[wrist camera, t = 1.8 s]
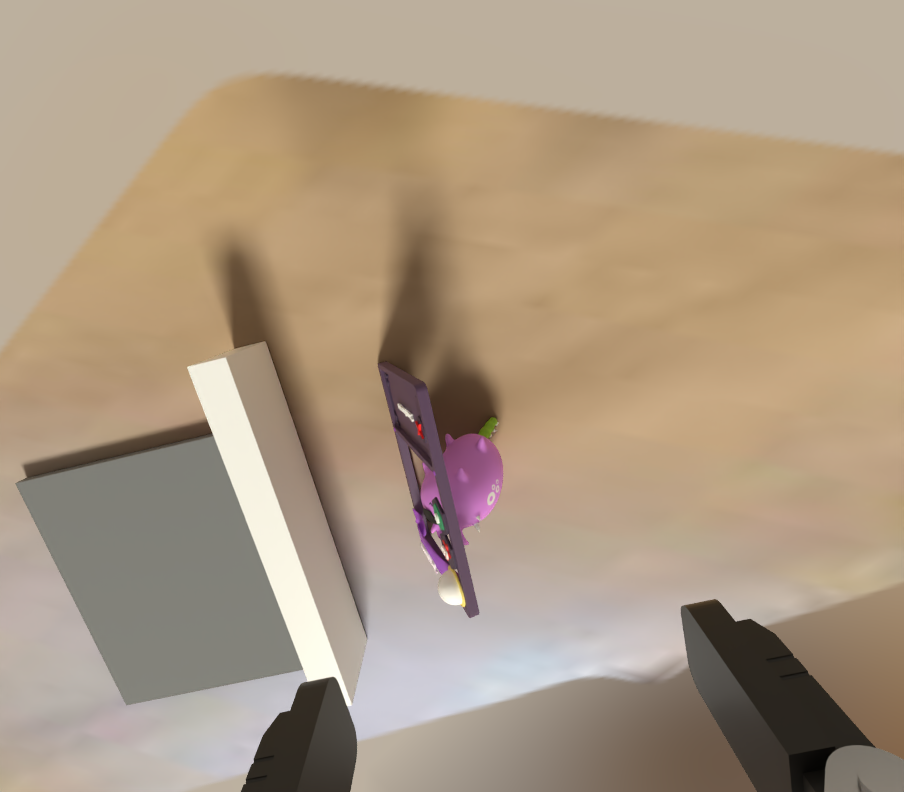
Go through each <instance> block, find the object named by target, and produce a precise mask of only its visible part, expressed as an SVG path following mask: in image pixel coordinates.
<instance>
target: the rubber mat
mask: <svg viewBox="0 0 904 792" xmlns="http://www.w3.org/2000/svg"><path fill="white" fill-rule="evenodd" d="M15 484H16V486H17V488H18V490H19V492H20V494H21V496H22V498H23V500H24V502H25V504H26V506H27V508H28V510H29V512H30V514H31V516H32V518H33V520H34V522H35V524H36V526H37V528H38V530H39V532H40V534H41V536H42V538H43V540H44V542H45V544H46V546H47V548H48V550H49V552H50V554H51V556H52V558H53V560H54V562H55V564H56V566H57V568H58V570H59V572H60V574H61V576H62V578H63V579H64V581H65V583H66V585H67V587H68V589H69V591H70V593H71V595H72V597H73V599H74V601H75V603H76V605H77V607H78V609H79V611H80V613H81V615H82V617H83V619H84V621H85V623H86V625H87V627H88V629H89V631H90V633H91V635H92V637H93V639H94V641H95V643H96V645H97V647H98V649H99V651H100V653H101V655H102V657H103V659H104V661H105V663H106V665H107V667H108V669H109V671H110V673H111V675H112V677H113V679H114V681H115V683H116V685H117V687H118V689H119V691H120V693H121V695H122V697H123V699H124V701H125V703H126V705H130V704H135V703H140V702H145V701H150V700H155V699H160V698H165V697H170V696H175V695H180V694H185V693H190V692H195V691H199V690H204V689H209V688H214V687H219V686H224V685H229V684H234V683H239V682H244V681H249V680H254V679H259V678H264V677H269V676H274V675H279V674H284V673H289V672H294V671H299V670H303V667H302V665H301V662H300V659H299V657H298V654H297V652H296V649H295V646H294V644H293V641H292V639H291V636H290V633H289V631H288V628H287V626H286V623H285V620H284V618H283V615H282V613H281V610H280V607H279V605H278V602H277V600H276V597H275V594H274V592H273V589H272V587H271V584H270V581H269V579H268V576H267V574H266V571H265V568H264V566H263V563H262V561H261V558H260V555H259V553H258V550H257V548H256V545H255V542H254V540H253V537H252V535H251V532H250V529H249V527H248V524H247V522H246V519H245V516H244V514H243V511H242V509H241V506H240V503H239V501H238V498H237V496H236V493H235V490H234V488H233V485H232V483H231V480H230V477H229V475H228V472H227V470H226V467H225V464H224V462H223V459H222V457H221V454H220V451H219V449H218V446H217V444H216V441H215V438H214V436H213V434H209V435H205V436H201V437H196V438H192V439H188V440H184V441H180V442H175V443H171V444H167V445H163V446H159V447H154V448H150V449H146V450H142V451H138V452H133V453H129V454H125V455H121V456H117V457H112V458H108V459H104V460H100V461H96V462H92V463H87V464H83V465H79V466H75V467H71V468H66V469H62V470H58V471H54V472H50V473H45V474H41V475H37V476H33V477H29V478H25V479H23V480H21V481H19V482H17V483H15Z"/></svg>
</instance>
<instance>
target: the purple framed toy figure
mask: <svg viewBox="0 0 904 792" xmlns="http://www.w3.org/2000/svg"><path fill="white" fill-rule="evenodd" d="M378 368H379V372H380V376H381V380H382V384H383V388H384V392H385V396H386V400H387V404H388V408H389V411H390V415H391V419H392V423H393V427H394V431H395V435H396V439H397V443H398V447H399V451H400V455H401V459H402V462H403V466H404V470H405V474H406V478H407V482H408V486H409V490H410V494H411V498H412V502H413V506H414V509H413V508H412V509H413V511H414V514H415V517H416V523H418V524H417V526H418V530H419V534H420V538H421V542H422V543H421V547H422V549H423V550H424V553H425V554H426V556H427V558H428V560H429V561H430V562H431V564H432V566H433V567H434V571H435V572H436V573H438V571H437V569H438V570H439V572H440V573H441V574H442V575H441V577H440V579H439V582H438V592H439V595H440V596H441V598H442V599H443V600H444V601H445V602H446V603H448V604H451V605H459V604H460V605H461V606H462V607H463V608H464V610H465V612H466V613H467V615H468V617H469V618H471V617H474V616H476V615H478V614H479V609H478V605H477V600H476V596H475V592H474V587H473V583H472V579H471V574H470V570H469V566H468V562H467V557H466V553H465V549H464V545H468V544H469V543H468V541H467V540H466V539H465V537H464V535H463V533H462V530H463V528H466V527H469V526H472V525H474V526H475V527H476V529H477V530H478V532H480V527H479V522H480V521H481V520H482V519H484V518H485V517H486V516H487V515H488V514H489V513H490V512H491V511H492V509H493V508H494V506H495V504H496V502H497V500H498V498H499V495H500V492H501V488H502V482H503V464H502V460H501V456H500V454H499V452H498V450H497V448H496V447H495V445H494V444H493V443H492V442H491V441H490V440H489V438H491V436H493V435H491V432H492V431H493V432H494V433H495V431H497V430H495V429H494V427H495V425H496V426H497V424H498V422H497V419H496V418H494V417H491V418H490V419H489V420H488V421H487V422H486V423H485V425H484V427H483V428H482V429H481V430H480V431H479V433H478V434H466V435H463V436H461V437H459V438H457V439H456V440H454V439H453V438H452V437H451V436H450V434H446V436H445V440H446V450H445V452H444V453H443V454H442V450H441V445H440V441H439V437H438V433H437V428H436V424H435V420H434V415H433V411H432V407H431V402H430V398H429V394H428V390H427V387H426V384H425V383H424V382H423V381H421V380H419V379H417V378H416V377H414V376H412V375H410V374H408V373H406V372H405V371H403V370H401V369H399V368H397V367H396V366H394V365H392V364H390V363H388V362H387V361H385V362H382V363H378ZM408 446H409V447H410V448H411V449H412V450H413V451H414V452H415V453H416V455H417V456H418V457H419V458H420V459H421V460H422V461H423V463H422V464H423V468H424V472H425V478H424V480H423V483H422V486H421V497H420V493H419V489H418V485H417V481H416V477H415V473H414V469H413V465H412V461H411V457H410V453H409V449H408ZM422 504H423V505H422ZM423 507H424V508H423ZM426 518H427V520H428V521H430V522H431V523H433V525H432V528H431V533H434V532H435V531H437V535H438V537H439V538H440V539H441V542H442V545H441V548H442V551H441V550H440V548H439V547H438V545H437V544H436V542H435V541H434V539H433V538H432V536H431V535H430V532H429V529H428V525H427V521H426ZM447 534H449V537H450V541H451V543H450V541H449V539H448V536H447ZM442 552H443V553H442ZM447 560H448V561H447ZM436 567H437V568H436ZM454 569H457V571H458V573H457V572H456V571H455V570H454Z"/></svg>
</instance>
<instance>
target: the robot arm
mask: <svg viewBox="0 0 904 792" xmlns="http://www.w3.org/2000/svg"><path fill="white" fill-rule="evenodd" d="M681 617H682V624H683V631H684V638H685V644H686V651H687V658H688V664H689V668H690V671H691V674H692V677H693V680H694V682H695V684H696V687H697V689H698V691H699V693H700V695H701V696H702V698H703V700H704V701H705V703H706V705H707V707H708V708H709V710H710V712H711V714H712V715H713V717H714V719H715V720H716V722H717V724H718V725H719V727H720V729H721V730H722V732H723V734H724V736H725V737H726V739H727V741H728V743H729V744H730V746H731V748H732V749H733V751H734V753H735V755H736V756H737V758H738V760H739V761H740V763H741V765H742V767H743V768H744V770H745V772H746V773H747V775H748V777H749V778H750V780H751V782H752V784H753V785H754V787H755V789H756V790H757V792H904V760H903V759H901V758H900V757H897V756H895V755H893V754H891V753H889V752H886V751H884V750H881V749H878V748H876V747H875V746H874V745H873V744H872V743H871V742H870V741H869V740H868V739H867V738H866V737H865V735H864V734H863V733H862V732H861V731H860V730H859V729H858V727H857V726H856V725H855V724H854V723H853V722H852V721H851V720H850V718H849V717H848V716H847V715H846V714H845V713H844V712H843V710H842V709H841V708H840V707H839V706H838V705H837V704H836V703H835V701H834V700H833V699H832V698H831V697H830V696H829V695H828V693H827V692H826V691H825V690H824V689H823V688H822V687H821V685H819V683H818V682H817V681H816V680H815V679H814V678H813V676H812V675H809V674H808V671H807V670H806V669H805V667H804V666H803V665H802V664H801V663H800V662H799V661H798V659H796V658H794V656H793V654H792V653H791V651H790V650H789V649H788V648H787V647H786V646H785V645H784V644H783V642H782V641H781V640H780V639H779V638H778V637H777V636H776V634H774V633H773V632H771V631H769V630H768V629H766V628H765V627H763V626H761V625H760V624H758V623H756V622H755V621H753V620H751V619H747V620H742V621H737V622H735V620H734V619H733V618H732V617H731V615H730V614H729V613H728V612H727V610H726V609H725V608H724V607H723V605H722V604H721V603H720V602H719V601H718V600H716V599H713V600H708V601H704V602H699V603H694V604H689V605H684V606H682V607H681ZM356 756H357V739H356V732H355V728H354V724H353V722H352V719H351V716H350V713H349V710H348V708H347V705H346V702H345V699H344V696H343V694H342V691H341V688H340V685H339V683H338V681H337V679H336V678H335V677H328V678H323V679H318V680H313V681H309V682H304V683H302V684H301V685H300V686H299V688H298V690H297V693H296V696H295V699H294V702H293V704H292V707H291V710H290V711H287V712H282V713H280V714H279V715H278V716H277V718H276V719H275V720H274V722H273V723H272V724H271V725H270V727H269V728H268V729H267V731H266V732H265V733H264V735H263V737H262V739H261V742H260V745H259V747H258V750H257V752H256V755H255V757H254V764H252V765H251V767H250V770H249V773H248V775H247V778H246V784H244V785H243V788H242V790H241V792H350V790H351V785H352V779H353V774H354V768H355V763H356Z"/></svg>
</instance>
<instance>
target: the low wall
mask: <svg viewBox="0 0 904 792" xmlns="http://www.w3.org/2000/svg"><path fill="white" fill-rule="evenodd" d="M187 368H188V371H189V373H190V376H191V379H192V381H193V384H194V386H195V389H196V392H197V394H198V397H199V399H200V402H201V405H202V407H203V410H204V412H205V415H206V418H207V420H208V423H209V425H210V428H211V431H212V433H213V436H214V438H215V441H216V444H217V446H218V449H219V451H220V454H221V457H222V459H223V462H224V464H225V467H226V470H227V472H228V475H229V477H230V480H231V483H232V485H233V488H234V490H235V493H236V496H237V498H238V501H239V503H240V506H241V509H242V511H243V514H244V516H245V519H246V522H247V524H248V527H249V529H250V532H251V535H252V537H253V540H254V542H255V545H256V548H257V550H258V553H259V555H260V558H261V561H262V563H263V566H264V568H265V571H266V574H267V576H268V579H269V581H270V584H271V587H272V589H273V592H274V594H275V597H276V600H277V602H278V605H279V607H280V610H281V613H282V615H283V618H284V620H285V623H286V626H287V628H288V631H289V633H290V636H291V639H292V641H293V644H294V646H295V649H296V652H297V654H298V657H299V659H300V662H301V665H302V667H303V670H304V672H305V675H306V678H307V680H308V682H309V681H313V680H318V679H323V678H328V677H335V678H336V679H337V681H338V683H339V685H340V688H341V691H342V694H343V696H344V699H345V702H346V705H347V706H350V705H352V703H353V699H354V694H355V690H356V686H357V682H358V677H359V673H360V669H361V665H362V661H363V656H364V652H365V648H366V644H367V637H366V634H365V631H364V629H363V626H362V623H361V620H360V617H359V614H358V611H357V608H356V605H355V602H354V599H353V596H352V593H351V590H350V587H349V584H348V582H347V579H346V576H345V573H344V570H343V567H342V564H341V561H340V558H339V555H338V552H337V549H336V546H335V543H334V540H333V537H332V535H331V532H330V529H329V526H328V523H327V520H326V517H325V514H324V511H323V508H322V505H321V502H320V499H319V496H318V493H317V490H316V487H315V485H314V482H313V479H312V476H311V473H310V470H309V467H308V464H307V461H306V458H305V455H304V452H303V449H302V446H301V443H300V440H299V438H298V435H297V432H296V429H295V426H294V423H293V420H292V417H291V414H290V411H289V408H288V405H287V402H286V399H285V396H284V393H283V391H282V388H281V385H280V382H279V379H278V376H277V373H276V370H275V367H274V364H273V361H272V358H271V355H270V352H269V349H268V346H267V344H266V341H263V342H259V343H255V344H251V345H247V346H243V347H239V348H235V349H232V350H230V351H227V352H224V353H222V354H219V355H217V356H214V357H211V358H209V359H206V360H204V361H201V362H199V363H196V364H193V365H191V366H188V367H187Z"/></svg>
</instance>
